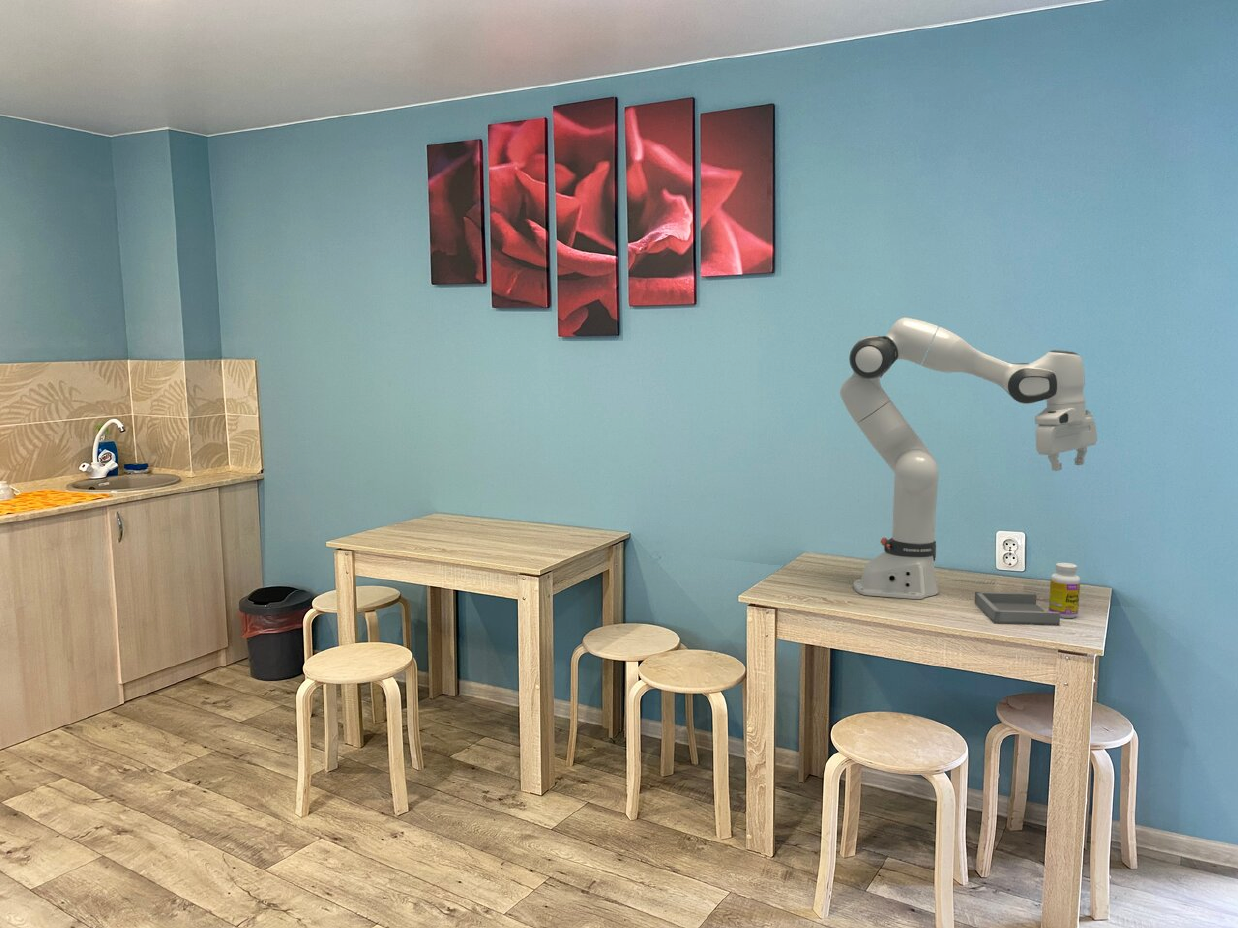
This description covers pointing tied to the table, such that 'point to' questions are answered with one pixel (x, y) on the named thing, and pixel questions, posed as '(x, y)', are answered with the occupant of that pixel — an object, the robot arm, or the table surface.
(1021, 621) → the tray
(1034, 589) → the table surface
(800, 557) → the table surface
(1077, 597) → the supplement bottle
